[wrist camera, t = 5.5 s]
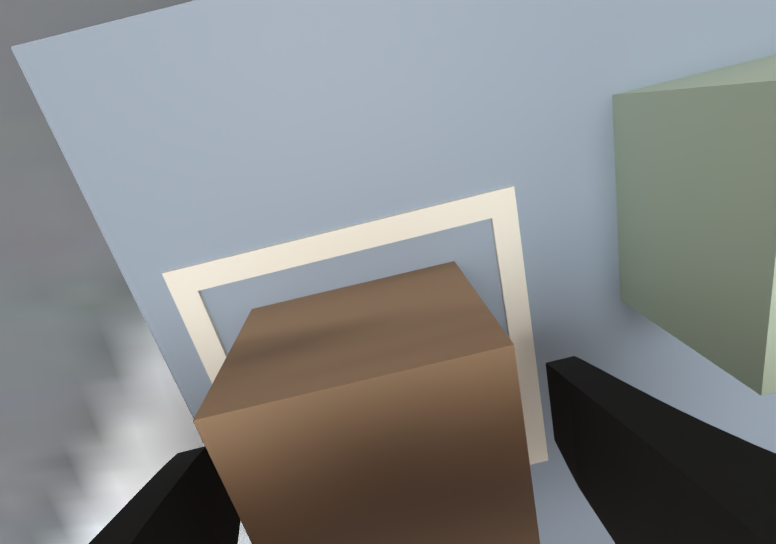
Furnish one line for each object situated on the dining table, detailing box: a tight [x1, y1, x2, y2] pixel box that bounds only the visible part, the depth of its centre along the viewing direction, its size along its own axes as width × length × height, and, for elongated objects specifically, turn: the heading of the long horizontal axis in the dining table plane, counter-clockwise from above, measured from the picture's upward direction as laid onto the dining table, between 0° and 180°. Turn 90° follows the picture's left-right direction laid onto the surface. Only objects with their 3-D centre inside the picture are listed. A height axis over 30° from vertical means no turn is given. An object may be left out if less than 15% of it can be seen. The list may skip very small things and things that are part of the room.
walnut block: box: [193, 261, 540, 544], centre depth 9 cm, size 5×5×4 cm
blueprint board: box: [11, 0, 776, 544], centre depth 12 cm, size 20×18×1 cm
